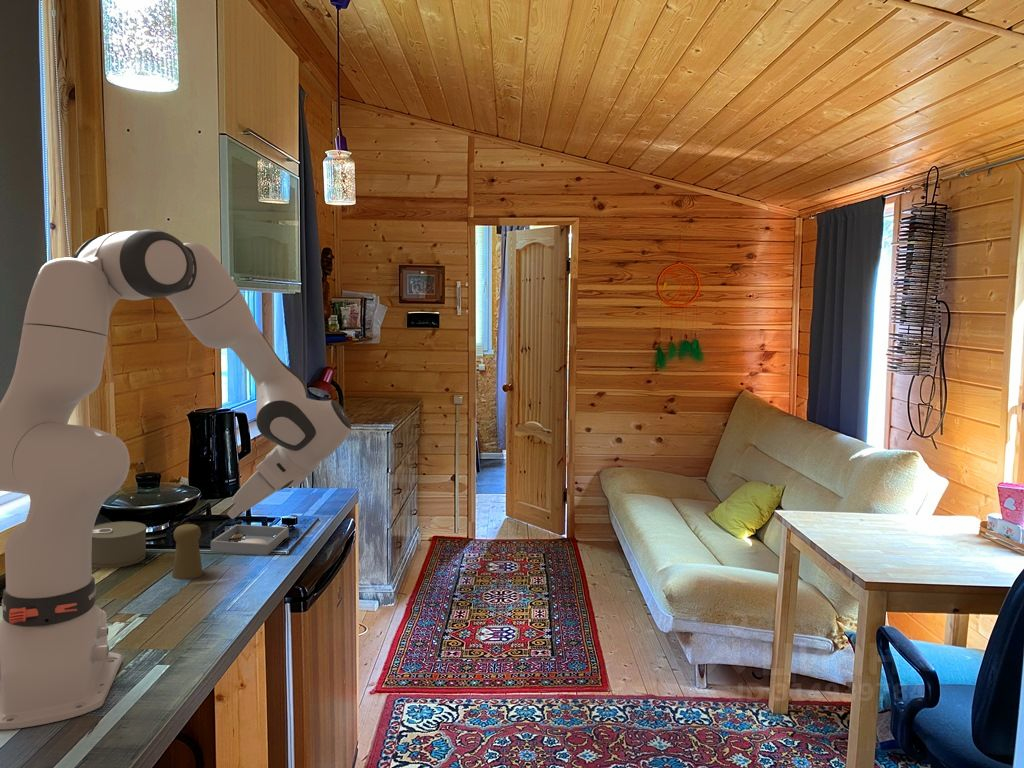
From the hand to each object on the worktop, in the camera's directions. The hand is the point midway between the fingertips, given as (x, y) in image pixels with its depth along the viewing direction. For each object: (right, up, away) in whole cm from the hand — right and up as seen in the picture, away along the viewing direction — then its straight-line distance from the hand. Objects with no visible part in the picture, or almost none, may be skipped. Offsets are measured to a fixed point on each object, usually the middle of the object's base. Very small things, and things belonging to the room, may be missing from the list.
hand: (241, 509), depth 153 cm
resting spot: (-6, -12, +22) cm, 26 cm away
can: (-32, -13, +11) cm, 36 cm away
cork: (-12, -15, +2) cm, 19 cm away
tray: (-6, -13, +23) cm, 27 cm away
